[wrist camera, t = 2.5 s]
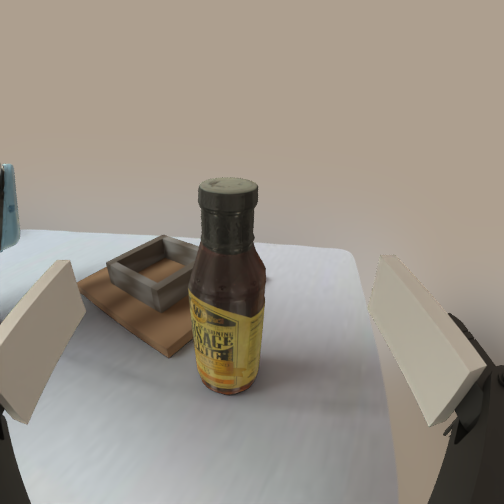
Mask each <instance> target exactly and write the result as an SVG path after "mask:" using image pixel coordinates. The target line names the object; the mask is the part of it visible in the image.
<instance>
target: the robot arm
mask: <svg viewBox="0 0 504 504" xmlns="http://www.w3.org/2000/svg"><path fill="white" fill-rule="evenodd" d="M19 239H20V225H19V216H18V206H17V197H16V186H15V175H14V168H13V165H11V164H3V165H2V166H1V164H0V252H2V251H3V250H5V249H7V248H9V247H12V246H14V245H15V244H17V242H18V241H19ZM367 309H368V311H369V313H370V314H371V316H372V318H373V320H374V321H375V323H376V325H377V327H378V329H379V330H380V332H381V334H382V336H383V338H384V339H385V341H386V343H387V345H388V347H389V349H390V350H391V352H392V354H393V356H394V358H395V360H396V362H397V364H398V366H399V367H400V369H401V371H402V373H403V375H404V377H405V379H406V381H407V383H408V385H409V387H410V389H411V391H412V393H413V395H414V397H415V399H416V401H417V403H418V405H419V407H420V410H421V411H422V414H423V416H424V418H425V420H426V422H427V424H428V426H429V427H431V426H434V425H436V424H439V423H442V422H444V421H446V420H447V419H448V418H449V416H450V415H451V414H452V413H453V412H454V410H455V412H456V414H457V416H458V417H457V418H456V419H455V420H454V421H453V422H452V424H451V425H450V426H449V427H448V428H447V429H446V430H445V432H444V434H443V435H444V436H446V435H447V434H448V433H449V432H450V431H451V429H452V431H451V435H450V436H449V437H450V440H449V443H448V447H447V451H446V454H445V458H444V460H443V463H442V467H441V469H440V473H439V475H438V478H437V481H436V484H435V486H434V489H433V492H432V494H431V497H430V499H429V502H428V504H504V366H503V365H500V366H495V365H494V363H493V362H492V360H491V359H490V358H489V356H488V355H487V354H486V352H485V351H484V350H483V348H482V347H481V346H480V345H479V343H478V342H477V340H476V339H475V340H474V337H473V336H472V334H471V333H470V332H468V329H467V328H466V327H465V325H464V324H463V323H462V322H461V321H460V320H459V319H457V318H456V317H455V316H453V315H452V314H451V313H448V314H447V313H446V312H445V310H444V309H443V308H442V307H441V306H440V304H439V303H438V302H437V301H436V300H435V299H434V297H433V296H432V295H431V294H430V293H429V292H428V290H427V289H426V288H425V287H424V286H423V285H422V284H421V282H420V281H419V280H418V279H417V278H416V277H415V276H414V275H413V274H412V273H411V272H410V270H409V269H408V268H407V267H406V266H405V265H404V264H403V263H402V262H401V261H400V260H399V259H398V258H397V257H396V255H380V258H379V263H378V267H377V271H376V276H375V280H374V284H373V288H372V292H371V296H370V300H369V304H368V307H367ZM85 313H86V309H85V306H84V304H83V301H82V298H81V295H80V292H79V289H78V285H77V282H76V279H75V276H74V272H73V269H72V265H71V262H70V260H57V261H56V262H55V263H54V264H53V265H52V266H51V267H50V268H49V269H48V270H47V271H46V272H45V273H44V274H43V275H42V276H41V277H40V279H39V280H38V281H37V282H36V283H35V284H34V285H33V286H32V287H31V288H30V290H29V291H28V292H27V293H26V294H25V295H24V296H23V298H22V299H21V300H20V301H19V302H18V303H17V305H16V306H15V307H14V308H13V309H12V311H11V312H10V313H9V314H8V316H7V317H6V318H5V319H4V321H3V322H1V323H0V504H31V502H30V500H29V497H28V495H27V492H26V489H25V486H24V484H23V481H22V478H21V475H20V472H19V469H18V465H17V462H16V458H15V455H14V451H13V447H12V443H11V439H10V435H9V430H8V426H7V421H6V419H5V417H4V416H3V415H2V414H3V411H4V409H5V410H6V411H7V412H8V414H9V415H10V416H11V417H12V418H13V419H14V420H17V421H19V422H22V423H24V424H27V425H28V423H29V420H30V418H31V416H32V413H33V411H34V409H35V407H36V405H37V402H38V400H39V398H40V396H41V394H42V392H43V390H44V388H45V386H46V384H47V382H48V380H49V378H50V376H51V374H52V372H53V370H54V368H55V366H56V364H57V362H58V360H59V358H60V357H61V355H62V353H63V351H64V349H65V347H66V346H67V344H68V342H69V340H70V338H71V337H72V335H73V333H74V332H75V330H76V328H77V326H78V325H79V323H80V321H81V320H82V318H83V316H84V315H85Z"/></svg>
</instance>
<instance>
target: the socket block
mask: <svg viewBox="0 0 504 504" xmlns="http://www.w3.org/2000/svg"><path fill="white" fill-rule="evenodd" d="M198 249H199V246H196V245H193V244H190V243H187V242H184V241H181V240H178V239H175V238H172V237H169V236H166V235H161V236H159V237H157V238H155V239H153V240H151V241H149V242H147V243H145V244H143V245H140V246H138V247H136V248H134V249H132V250H130V251H128V252H126V253H124V254H122V255H120V256H118V257H116V258H114V259H112V260H110V261H108V262H106V265H107V267H105V268H103V269H101V270H100V271H98V272H96V273H94V274H92V275H90V276H88V277H86V278H85V279H83V280H81V281H79V282H77V285H78V289H79V292H80V293H81V294H83V295H84V296H85V297H86V298H87V299H89V300H90V301H91V302H92V303H94V304H95V305H96V306H97V307H98V308H100V309H101V310H102V311H104V312H105V313H106V314H107V315H109V316H110V317H111V318H113V319H114V320H115V321H117V322H118V323H119V324H121V325H122V326H123V327H125V328H126V329H127V330H129V331H130V332H131V333H133V334H134V335H136V336H137V337H138V338H140V339H141V340H143V341H144V342H146V343H147V344H148V345H150V346H151V347H153V348H154V349H156V350H157V351H159V352H160V353H162V354H163V355H165V356H166V357H168V358H170V357H171V356H172V355H173V354H175V353H176V352H177V351H178V350H179V349H181V348H182V347H183V346H184V345H185V344H187V343H188V342H189V341H190V340H191V339H193V331H192V322H191V313H190V304H189V291H188V285H189V281H190V277H191V274H192V270H193V267H194V263H195V259H196V256H197V252H198Z"/></svg>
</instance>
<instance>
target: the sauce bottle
mask: <svg viewBox="0 0 504 504" xmlns="http://www.w3.org/2000/svg"><path fill="white" fill-rule="evenodd" d="M198 192H199V193H198V203H199V205H200V208H201V220H202V222H201V226H202V235H201V242H200V245H199V249H198V252H197V256H196V259H195V263H194V267H193V270H192V274H191V277H190V281H189V285H188V291H189V304H190V313H191V322H192V331H193V340H194V347H195V355H196V363H197V369H198V372H199V374H200V376H201V379H202V382H203V383H204V384H205V385H206V386H207V388H209V389H211V390H213V391H215V392H218V393H222V394H226V395H231V394H236V393H238V392H241V391H244V390H246V389H248V388H249V387H250V386H251V385H252V383H253V382H254V380H255V378H256V375H257V372H258V368H259V359H260V349H261V339H262V329H263V318H264V306H265V297H264V294H265V283H266V268H265V266H264V264H263V262H262V260H261V259H260V257H259V255H258V253H257V252H256V249H255V247H254V243H253V241H254V238H255V237H254V234H253V228H254V227H253V224H254V208H255V207H256V205H257V202H258V185H257V184H256V183H254V182H252V181H250V180H246V179H241V178H215V179H209V180H206V181H204V182H202V183H201V184H200V186H199V189H198Z"/></svg>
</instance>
